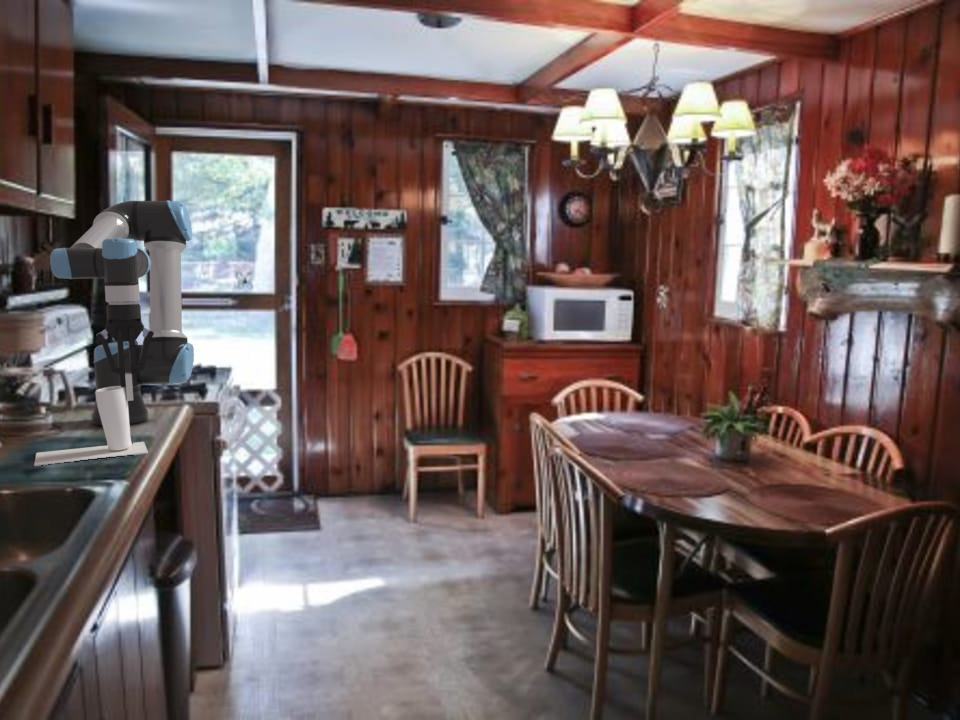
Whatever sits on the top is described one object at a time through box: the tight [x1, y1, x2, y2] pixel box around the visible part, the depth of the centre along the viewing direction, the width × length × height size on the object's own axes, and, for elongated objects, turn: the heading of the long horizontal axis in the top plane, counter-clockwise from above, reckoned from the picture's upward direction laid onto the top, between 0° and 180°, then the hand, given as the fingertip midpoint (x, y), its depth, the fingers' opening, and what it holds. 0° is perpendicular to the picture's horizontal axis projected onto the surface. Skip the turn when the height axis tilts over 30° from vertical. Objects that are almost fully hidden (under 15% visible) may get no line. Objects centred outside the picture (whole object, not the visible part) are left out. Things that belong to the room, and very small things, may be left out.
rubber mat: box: [33, 441, 149, 467], centre depth 190 cm, size 24×13×1 cm, turn 117°
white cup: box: [94, 386, 133, 451], centre depth 192 cm, size 7×7×15 cm
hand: (129, 399), depth 192 cm, fingers closed
